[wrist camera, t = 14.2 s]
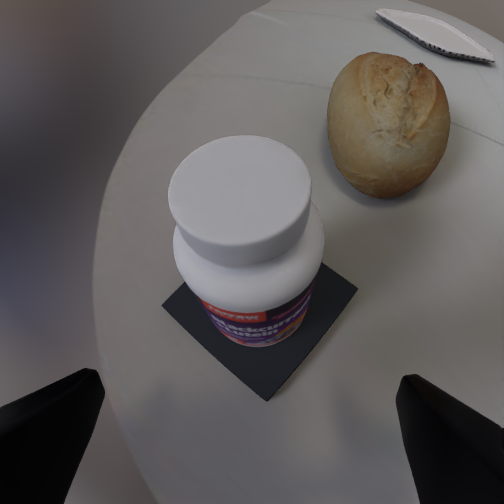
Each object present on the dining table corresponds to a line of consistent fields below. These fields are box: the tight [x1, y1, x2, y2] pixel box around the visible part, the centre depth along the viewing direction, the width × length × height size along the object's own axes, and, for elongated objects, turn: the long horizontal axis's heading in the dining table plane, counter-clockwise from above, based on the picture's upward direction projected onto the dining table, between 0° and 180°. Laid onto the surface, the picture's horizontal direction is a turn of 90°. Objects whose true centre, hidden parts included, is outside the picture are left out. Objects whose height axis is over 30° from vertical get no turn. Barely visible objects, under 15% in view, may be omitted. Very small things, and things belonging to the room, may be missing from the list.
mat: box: [162, 262, 358, 401], centre depth 17 cm, size 8×8×1 cm
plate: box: [375, 8, 495, 62], centre depth 37 cm, size 21×21×2 cm
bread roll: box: [327, 52, 450, 198], centre depth 19 cm, size 10×15×8 cm, turn 161°
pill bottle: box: [168, 135, 325, 347], centre depth 12 cm, size 5×5×10 cm
